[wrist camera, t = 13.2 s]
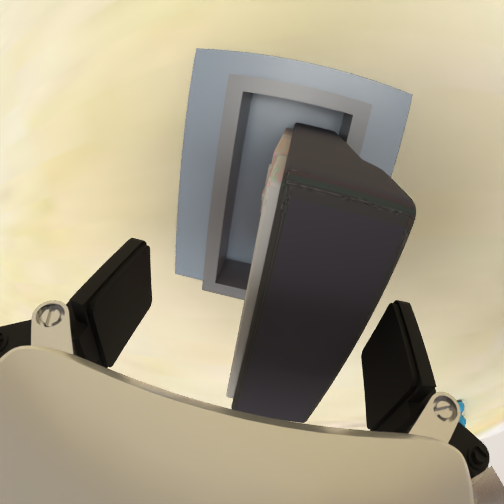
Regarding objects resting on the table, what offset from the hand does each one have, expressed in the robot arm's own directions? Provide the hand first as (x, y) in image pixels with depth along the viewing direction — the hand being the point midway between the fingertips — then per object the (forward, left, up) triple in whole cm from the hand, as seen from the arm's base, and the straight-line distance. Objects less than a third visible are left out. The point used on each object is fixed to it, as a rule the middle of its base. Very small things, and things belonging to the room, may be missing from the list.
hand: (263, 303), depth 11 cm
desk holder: (0, 0, -14) cm, 14 cm away
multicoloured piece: (-1, 0, -13) cm, 13 cm away
